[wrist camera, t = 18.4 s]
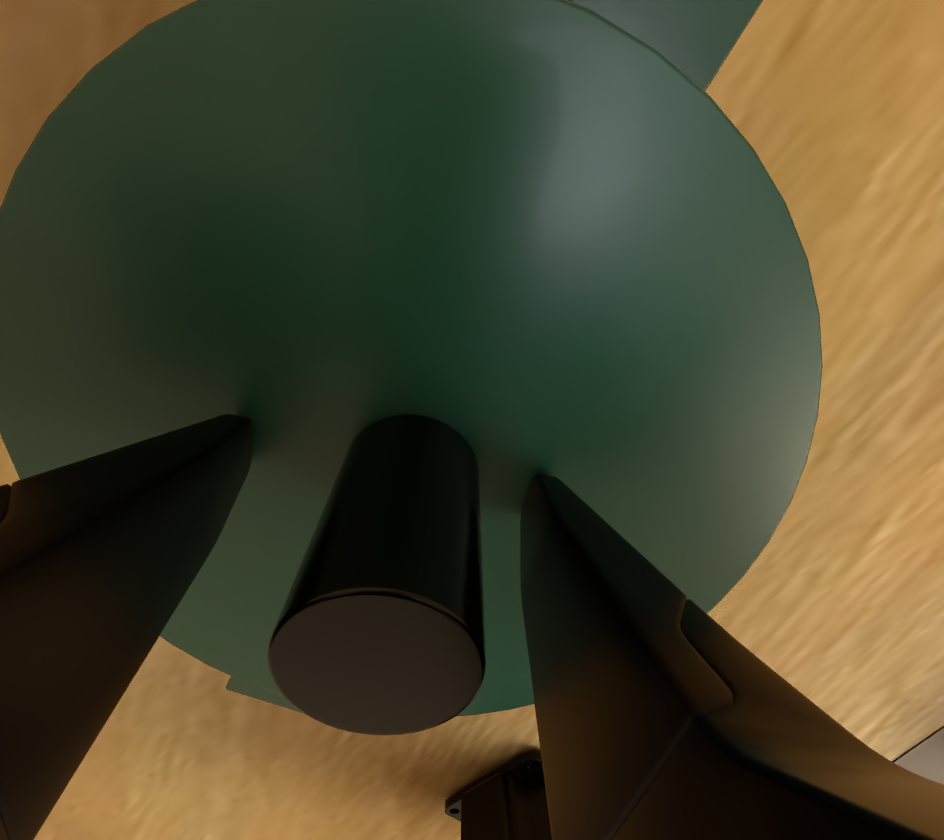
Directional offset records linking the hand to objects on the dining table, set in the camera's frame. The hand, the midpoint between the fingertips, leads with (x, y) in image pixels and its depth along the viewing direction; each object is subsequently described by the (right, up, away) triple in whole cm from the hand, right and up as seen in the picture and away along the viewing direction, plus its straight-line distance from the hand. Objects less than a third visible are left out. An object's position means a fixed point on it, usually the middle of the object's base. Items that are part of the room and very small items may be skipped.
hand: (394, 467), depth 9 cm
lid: (0, 0, +1) cm, 1 cm away
